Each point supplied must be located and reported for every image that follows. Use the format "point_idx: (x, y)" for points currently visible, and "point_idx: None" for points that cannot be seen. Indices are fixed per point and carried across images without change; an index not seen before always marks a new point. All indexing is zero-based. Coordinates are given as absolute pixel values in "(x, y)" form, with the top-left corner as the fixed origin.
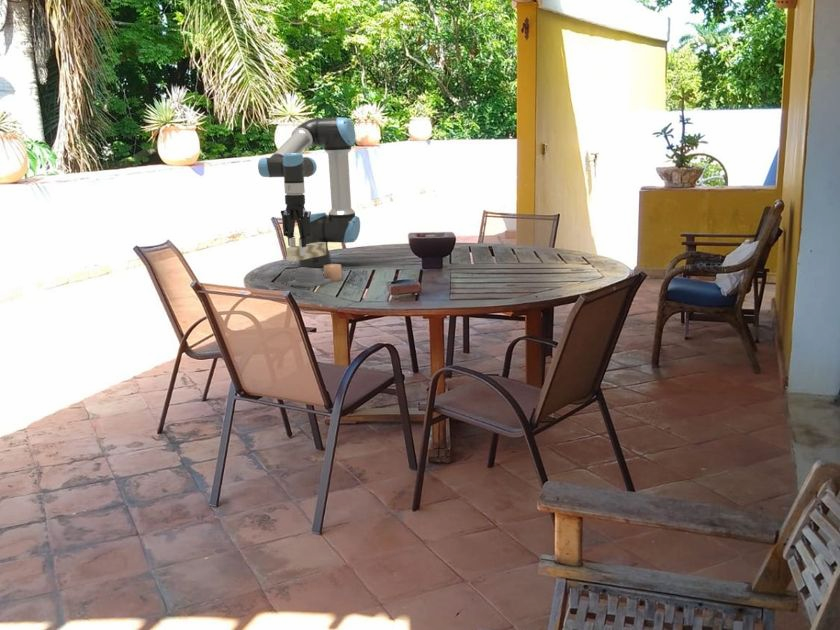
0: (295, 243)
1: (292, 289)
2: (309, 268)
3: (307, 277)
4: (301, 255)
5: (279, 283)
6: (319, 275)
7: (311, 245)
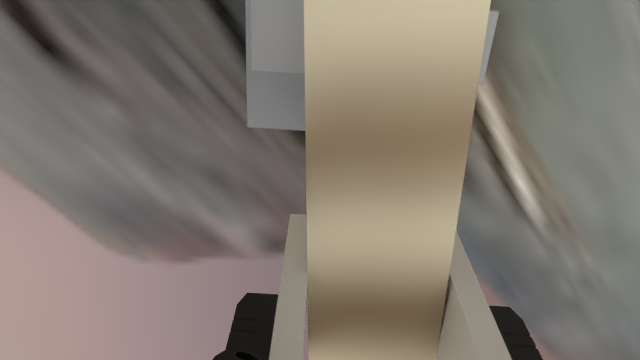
0: (305, 298)
1: None
2: None
3: None
4: None
5: (150, 89)
6: None
7: (473, 109)
